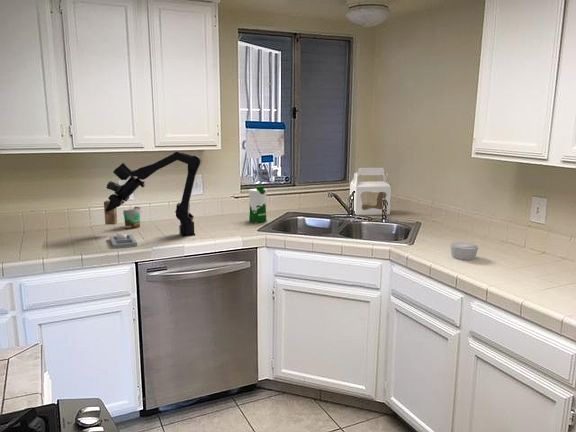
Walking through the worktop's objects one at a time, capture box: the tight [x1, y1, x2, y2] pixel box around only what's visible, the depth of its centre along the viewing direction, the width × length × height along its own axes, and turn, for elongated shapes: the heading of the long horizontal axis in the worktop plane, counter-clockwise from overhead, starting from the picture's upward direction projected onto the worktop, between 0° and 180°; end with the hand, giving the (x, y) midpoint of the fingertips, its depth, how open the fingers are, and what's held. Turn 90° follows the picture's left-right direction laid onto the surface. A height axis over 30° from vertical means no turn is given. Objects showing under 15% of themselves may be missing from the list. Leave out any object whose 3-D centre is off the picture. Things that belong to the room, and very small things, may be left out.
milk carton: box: [247, 185, 268, 223], centre depth 273 cm, size 9×9×20 cm
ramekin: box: [449, 241, 479, 261], centre depth 205 cm, size 11×11×5 cm
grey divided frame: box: [109, 233, 138, 249], centre depth 224 cm, size 10×18×3 cm, turn 25°
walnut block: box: [103, 200, 118, 226], centre depth 236 cm, size 4×4×11 cm
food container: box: [122, 206, 142, 230], centre depth 256 cm, size 12×6×10 cm, turn 168°
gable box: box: [349, 167, 392, 216], centre depth 300 cm, size 22×13×28 cm, turn 100°
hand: (107, 210), depth 236 cm, fingers closed on walnut block, 4 cm apart
